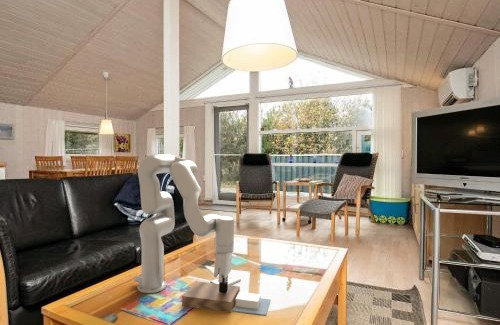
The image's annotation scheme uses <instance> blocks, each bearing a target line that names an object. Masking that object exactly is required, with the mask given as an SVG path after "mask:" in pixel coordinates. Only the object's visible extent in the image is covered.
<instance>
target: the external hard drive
mask: <svg viewBox="0 0 500 325" xmlns="http://www.w3.org/2000/svg"><path fill="white" fill-rule="evenodd" d="M218 279H219V277H218V278H215V279H213V280H210V281H209V283H214V284H219V282H218ZM241 281H242V278H241V277H238V276H235V275H233V274H231V273H229V274H228V281H226V282H228V285H232V286H234V285H235V284H237V283H240V282H241Z"/></svg>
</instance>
